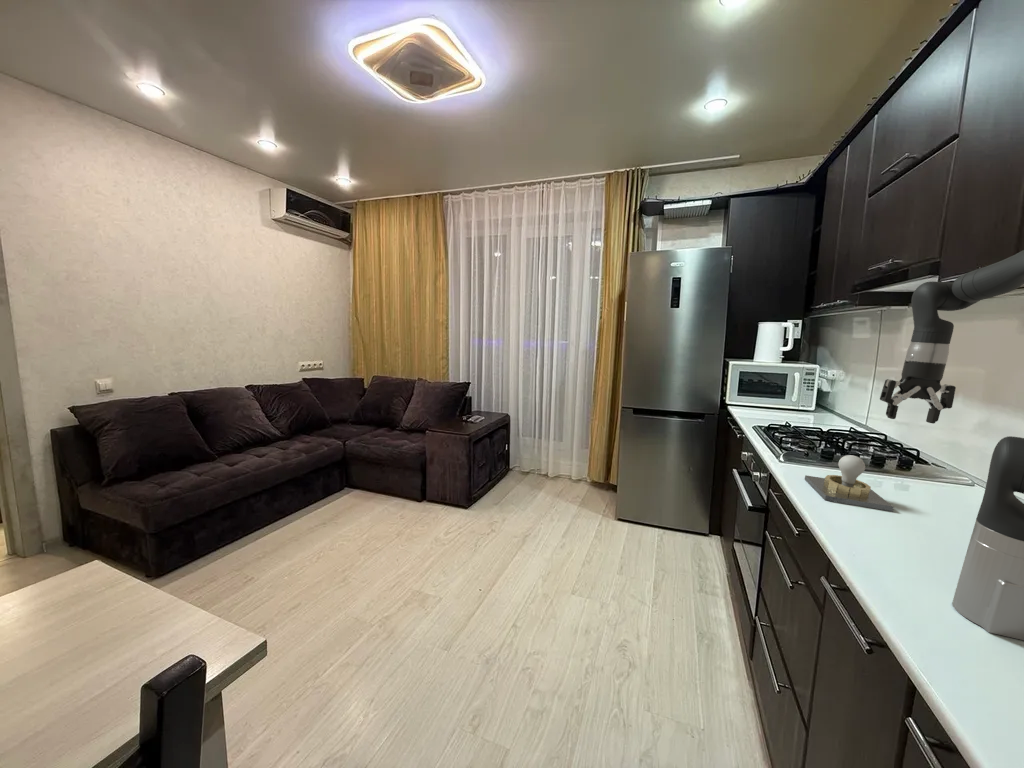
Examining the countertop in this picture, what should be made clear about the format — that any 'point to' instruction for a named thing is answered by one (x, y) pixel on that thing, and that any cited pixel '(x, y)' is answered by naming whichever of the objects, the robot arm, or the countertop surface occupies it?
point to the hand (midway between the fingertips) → (910, 420)
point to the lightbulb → (850, 469)
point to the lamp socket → (847, 492)
